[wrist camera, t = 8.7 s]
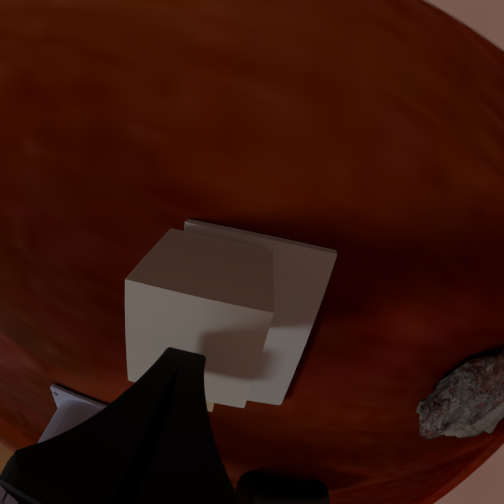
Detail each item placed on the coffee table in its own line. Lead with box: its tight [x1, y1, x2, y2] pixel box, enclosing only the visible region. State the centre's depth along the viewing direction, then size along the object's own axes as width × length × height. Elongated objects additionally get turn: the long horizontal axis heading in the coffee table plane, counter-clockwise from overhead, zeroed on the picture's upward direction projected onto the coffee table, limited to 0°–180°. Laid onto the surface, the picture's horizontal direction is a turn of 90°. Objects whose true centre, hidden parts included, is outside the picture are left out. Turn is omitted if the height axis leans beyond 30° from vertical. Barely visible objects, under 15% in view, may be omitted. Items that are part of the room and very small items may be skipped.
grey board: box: [184, 219, 337, 412], centre depth 17 cm, size 12×8×4 cm, turn 168°
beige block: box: [125, 229, 274, 408], centre depth 14 cm, size 5×5×6 cm
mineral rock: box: [416, 350, 504, 440], centre depth 18 cm, size 15×8×4 cm, turn 75°
